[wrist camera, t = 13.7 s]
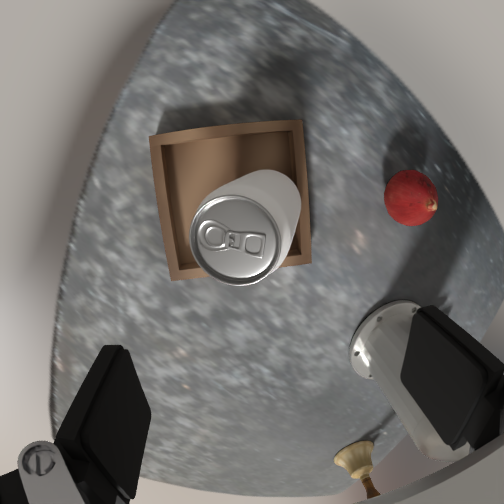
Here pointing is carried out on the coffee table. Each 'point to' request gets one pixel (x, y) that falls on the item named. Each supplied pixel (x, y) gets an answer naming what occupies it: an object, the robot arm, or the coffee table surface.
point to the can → (246, 227)
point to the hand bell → (358, 464)
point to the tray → (223, 179)
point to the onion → (410, 198)
